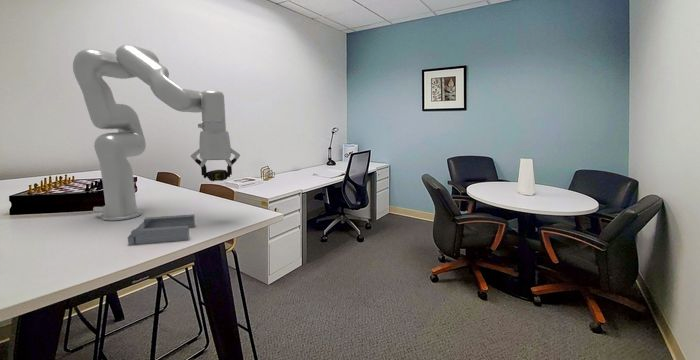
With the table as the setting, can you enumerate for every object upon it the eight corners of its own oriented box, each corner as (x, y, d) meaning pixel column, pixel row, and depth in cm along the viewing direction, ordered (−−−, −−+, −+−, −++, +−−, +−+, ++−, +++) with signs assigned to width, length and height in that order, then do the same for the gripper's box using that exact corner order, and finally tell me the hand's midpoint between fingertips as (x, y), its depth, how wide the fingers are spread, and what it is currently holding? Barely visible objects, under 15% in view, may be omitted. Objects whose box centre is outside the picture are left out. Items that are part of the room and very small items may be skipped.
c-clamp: (128, 245, 96) (127, 232, 95) (146, 226, 113) (145, 215, 112) (188, 240, 100) (187, 227, 100) (196, 222, 117) (195, 212, 117)
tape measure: (206, 180, 118) (206, 170, 117) (226, 178, 121) (225, 168, 120) (208, 183, 112) (208, 172, 111) (229, 181, 115) (228, 171, 114)
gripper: (184, 127, 107) (188, 179, 110) (240, 127, 112) (242, 178, 115) (188, 126, 114) (192, 176, 117) (240, 127, 119) (242, 174, 122)
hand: (217, 176), depth 116 cm, fingers closed on tape measure, 7 cm apart
